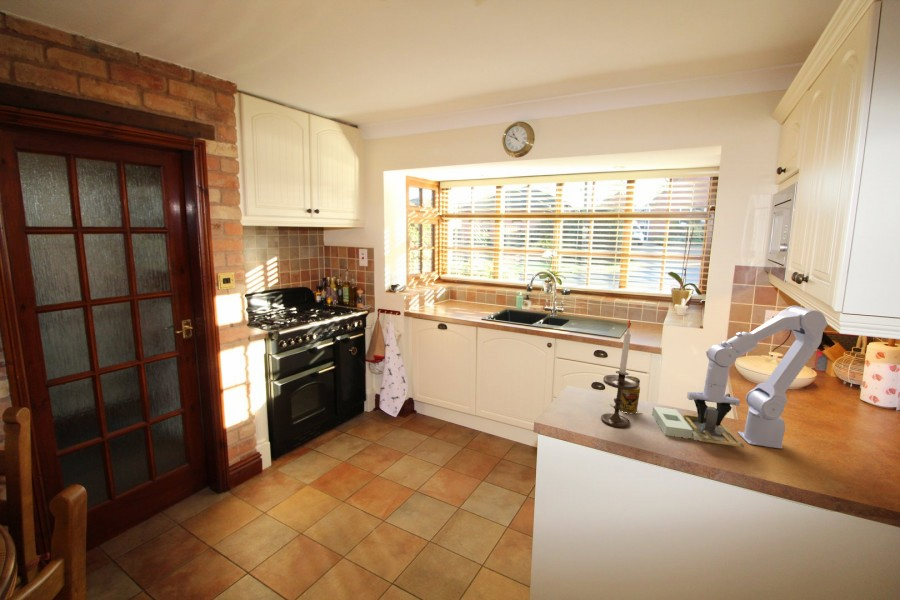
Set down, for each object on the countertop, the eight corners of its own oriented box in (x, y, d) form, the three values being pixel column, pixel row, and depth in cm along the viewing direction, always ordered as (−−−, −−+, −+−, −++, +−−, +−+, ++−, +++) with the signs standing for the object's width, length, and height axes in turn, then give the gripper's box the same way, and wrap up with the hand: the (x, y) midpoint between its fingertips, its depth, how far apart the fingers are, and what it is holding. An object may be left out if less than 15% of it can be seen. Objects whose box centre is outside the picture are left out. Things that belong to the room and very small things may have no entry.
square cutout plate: (675, 417, 150) (676, 409, 149) (691, 438, 134) (692, 430, 134) (651, 414, 151) (653, 406, 151) (665, 435, 136) (666, 426, 135)
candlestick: (603, 411, 150) (616, 314, 145) (635, 421, 145) (651, 319, 139) (594, 422, 142) (607, 318, 136) (628, 432, 136) (644, 324, 130)
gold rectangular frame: (718, 424, 142) (719, 418, 142) (743, 450, 125) (744, 443, 125) (683, 419, 144) (683, 413, 144) (702, 444, 127) (703, 437, 127)
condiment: (625, 414, 150) (630, 382, 148) (610, 404, 157) (614, 373, 155) (642, 413, 152) (647, 381, 150) (626, 403, 160) (631, 372, 158)
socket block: (718, 429, 142) (719, 423, 142) (733, 445, 132) (734, 438, 131) (682, 424, 144) (683, 418, 144) (694, 440, 134) (695, 432, 133)
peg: (715, 431, 141) (719, 405, 140) (725, 442, 133) (730, 415, 132) (688, 427, 143) (693, 401, 141) (697, 438, 135) (702, 411, 133)
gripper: (735, 381, 138) (728, 421, 140) (686, 375, 140) (680, 414, 143) (745, 389, 131) (737, 431, 133) (694, 383, 133) (687, 424, 136)
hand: (708, 423), depth 137 cm, fingers open, 4 cm apart
